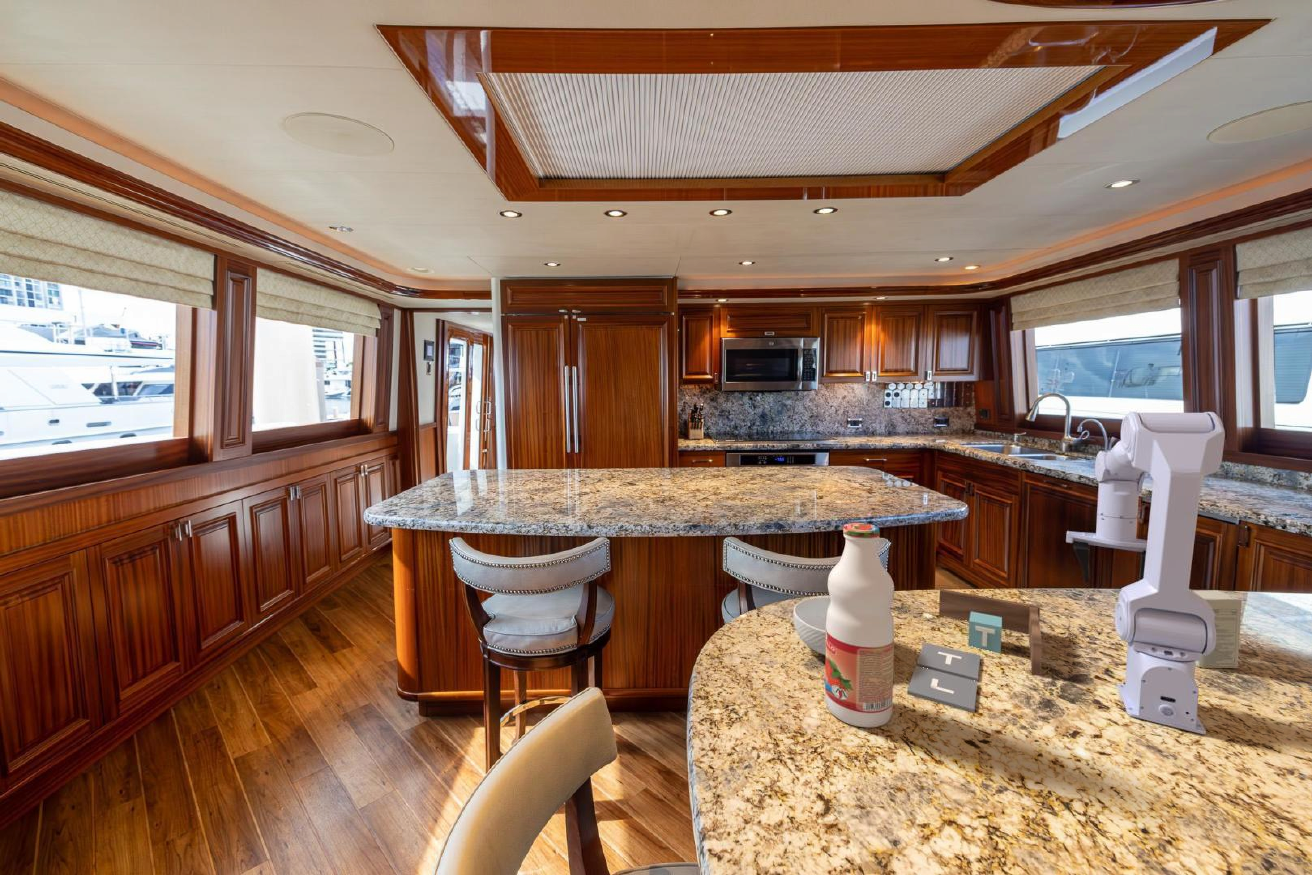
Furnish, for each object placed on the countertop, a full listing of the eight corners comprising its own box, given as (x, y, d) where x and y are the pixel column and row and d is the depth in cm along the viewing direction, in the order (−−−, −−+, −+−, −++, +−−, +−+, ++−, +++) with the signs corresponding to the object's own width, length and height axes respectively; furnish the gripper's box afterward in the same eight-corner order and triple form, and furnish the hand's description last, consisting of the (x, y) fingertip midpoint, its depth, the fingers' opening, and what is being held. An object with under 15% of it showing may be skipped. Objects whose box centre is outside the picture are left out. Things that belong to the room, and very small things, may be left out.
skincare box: (1214, 656, 91) (1219, 589, 90) (1239, 669, 87) (1244, 599, 86) (1174, 655, 92) (1178, 588, 91) (1197, 668, 87) (1202, 598, 86)
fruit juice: (892, 736, 71) (897, 537, 69) (821, 720, 75) (824, 531, 72) (891, 699, 80) (896, 521, 77) (827, 686, 83) (830, 516, 81)
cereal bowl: (783, 660, 92) (783, 622, 91) (803, 623, 106) (803, 590, 106) (887, 684, 84) (888, 642, 83) (893, 641, 98) (894, 605, 98)
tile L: (974, 712, 76) (974, 709, 76) (907, 693, 81) (907, 690, 81) (977, 684, 83) (977, 681, 83) (915, 668, 88) (915, 665, 88)
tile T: (977, 681, 84) (977, 678, 84) (916, 665, 89) (916, 662, 89) (980, 658, 92) (980, 655, 92) (923, 644, 97) (923, 642, 97)
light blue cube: (1000, 654, 93) (1001, 627, 93) (968, 647, 96) (969, 621, 95) (1000, 642, 97) (1001, 617, 97) (970, 636, 100) (970, 611, 100)
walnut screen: (1043, 676, 85) (1045, 644, 85) (928, 649, 95) (929, 620, 94) (1038, 633, 101) (1039, 606, 100) (939, 613, 110) (940, 588, 110)
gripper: (1168, 517, 96) (1164, 588, 97) (1069, 506, 105) (1065, 571, 106) (1172, 524, 91) (1167, 599, 92) (1067, 512, 100) (1063, 580, 101)
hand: (1112, 585), depth 99 cm, fingers open, 7 cm apart
